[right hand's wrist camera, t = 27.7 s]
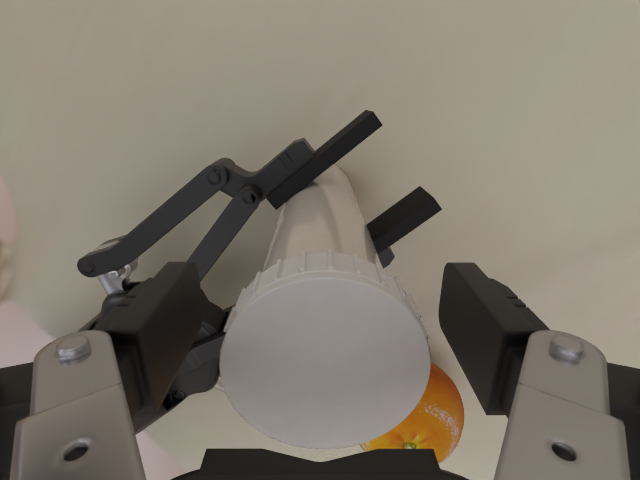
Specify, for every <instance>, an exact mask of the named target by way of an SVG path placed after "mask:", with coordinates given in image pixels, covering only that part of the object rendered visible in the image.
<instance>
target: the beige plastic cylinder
mask: <svg viewBox="0 0 640 480" xmlns="http://www.w3.org/2000/svg"><path fill="white" fill-rule="evenodd" d="M328 249H331V250H332V252H335V253H342V254H348V255H353V253H355V254H357V256H358V257H359V258H361V259H364V260H366V261H369V262H371V263H373V264H376V262H377V263H379V264H380V266H381V268H382V269H383V267H382V264H381V262H380V259H379V257H378V254H377V251H376V249H375V246H374V244H373V241H372V238H371V236H370V233H369V231H368V228H367V225H366V223H365V220H364V218H363V215H362V212H361V210H360V207H359V205H358V202H357V199H356V197H355V194H354V192H353V189H352V186H351V184H350V181H349V179H348V177H347V175H346V174H345V173H344V172H343V171H342V170H341V169H340V168H339V167H337V166H336V165H334V164H333V165H332V166H331V167H329V168H328V169H327V170H326V171H324V172H323V173H322V174H321V175H319V176H318V177H317V178H316V179H314V180H313V181H312V182H311V183H309V184H308V185H307V186H305V187H304V188H303V189H302V190H300V191H299V192H298V193H297V194H295V195H294V196H293V197H292V198H290V199H289V200H288V201H287V202H285V203H284V204H283V206H282V209H281V213H280V216H279V219H278V222H277V225H276V228H275V231H274V234H273V238H272V241H271V244H270V247H269V250H268V253H267V256H266V259H265V263H264V266H263V269H262V272H264V271H265V270H267V269H268V268H270V267H271V266H273V265H275V264H277V260H278V259H280V258H281V259H282V261H283V260H286V259H288V258H291V257H294V256H298V255H301V253H302V252H303V251H306V254H307V253H315V252H327V250H328ZM383 270H384V269H383Z"/></svg>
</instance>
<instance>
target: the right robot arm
mask: <svg viewBox="0 0 640 480" xmlns="http://www.w3.org/2000/svg"><path fill="white" fill-rule="evenodd" d="M202 321H203V304H202V296H201V288H200V281H199V273H198V268H197V265H196V263H194V262H168V263H167V264H166V265H165V266H164V267H163V268H162V269H161V270H160V272H159V273H158V274H157V275H156V276H155V277H154V278H149V279H147V280H145V281H144V282H142V283H140V284H138V285H136V286H134V288H133V289H132V290H131V291H130V292H129V293H128V294H127V295H126V296H125V298H123V299H122V300H121V301H120V302H119V303H118V304H117V307H114V308H113V309H112V310H111V311H110V312H109V313H108V314H107V315H106V316H105V317H104V318H103V319H102V320H101V321H100V322H99V323H98V324H97V325H96V326H95V327H94V328H93V329H92V330H87V331H80V332H76V333H72V334H69V335H66V336H63V337H61V338H58V339H56V340H54V341H53V342H51V343H49V344H48V345H46V346H45V347H43V348H42V349H41V350H40V351H39V352H38V353H37V355H36V356H35V358H34V361H33V362H32V363H26V364H21V365H16V366H11V367H6V368H0V480H146V476H145V472H144V468H143V464H142V460H141V456H140V452H139V448H138V444H137V440H136V436H135V432H134V428H133V424H132V422H133V420H134V419H135V417H136V415H137V414H157V412H158V410H159V408H160V406H161V404H162V402H163V400H164V398H165V396H166V394H167V392H168V390H169V389H170V387H171V385H172V383H173V381H174V379H175V377H176V375H177V373H178V371H179V369H180V367H181V365H182V363H183V361H184V360H185V358H186V356H187V354H188V352H189V350H190V348H191V346H192V344H193V342H194V340H195V338H196V336H197V334H198V332H199V330H200V328H201V326H202ZM439 322H440V326H441V329H442V331H443V333H444V335H445V337H446V339H447V341H448V343H449V345H450V346H451V348H452V350H453V352H454V354H455V356H456V358H457V360H458V362H459V364H460V366H461V367H462V369H463V371H464V373H465V375H466V377H467V379H468V381H469V383H470V385H471V387H472V388H473V390H474V392H475V394H476V396H477V398H478V400H479V402H480V404H481V406H482V407H483V409H484V411H485V413H486V415H506V416H507V418H508V424H507V428H506V432H505V436H504V440H503V444H502V448H501V452H500V456H499V460H498V464H497V468H496V472H495V476H494V480H640V369H637V368H632V367H627V366H622V365H617V364H611V363H607V361H606V358H605V356H604V354H603V353H602V352H601V351H600V350H599V349H598V348H597V347H595V346H594V345H592V344H591V343H589V342H587V341H586V340H584V339H582V338H579V337H577V336H574V335H571V334H568V333H564V332H560V331H553V330H550V329H549V328H548V327H547V326H546V325H545V324H544V323H543V322H542V321H541V320H540V319H539V318H538V317H537V316H536V315H535V314H534V313H533V312H532V311H531V310H530V309H529V308H528V307H526V305H525V304H524V303H523V302H522V301H521V300H520V299H518V297H517V296H516V295H515V294H514V293H513V292H512V291H511V290H510V289H509V288H508V287H507V286H505V285H503V284H501V283H500V282H498V281H496V280H494V279H489V278H488V277H487V276H486V275H485V274H484V273H483V272H482V271H481V270H480V269H479V267H478V266H477V265H476V264H475V263H447V264H446V266H445V268H444V274H443V281H442V289H441V296H440V304H439ZM171 480H469V479H467V478H465V477H462V476H460V475H457V474H454V473H451V472H449V471H445V470H442V469H440V468H439V464H438V461H437V458H436V455H435V452H434V449H375V450H371V451H367V452H363V453H358V454H354V455H350V456H346V457H342V458H338V459H334V460H330V461H326V462H314V461H310V460H306V459H302V458H298V457H294V456H290V455H286V454H282V453H277V452H273V451H269V450H265V449H206V452H205V455H204V458H203V461H202V464H201V468H200V469H198V470H195V471H191V472H189V473H186V474H183V475H180V476H178V477H175V478H173V479H171Z"/></svg>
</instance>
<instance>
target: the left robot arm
mask: <svg viewBox="0 0 640 480" xmlns="http://www.w3.org/2000/svg"><path fill="white" fill-rule="evenodd" d="M381 126H382V124H381V122H380V121H379V119H378V118H377V116H376V115H375V114H374V112H372V111H368V110H365V111H364V112H363V113H362V114H360V115H359V116H358V117H357V118H355V119H354V120H353V121H352V122H350V123H349V124H348V125H347V126H346V127H344V128H343V129H342V130H341V131H339V132H338V133H337V134H336V135H335V136H333V137H332V138H331V139H330V140H328V141H327V142H326V143H325V144H324V145H322V146H321V147H320V148H319V149H317V150H316V151H314V150H313V148H312V147H311V146H310V145H309V143H308V142H307V141H306V140H305V138H302V139H299V140H296V141H294V142H293V143H291V144H290V145H289V146H288V147H287V148H285V149H284V150H283V151H282V152H281V153H279V154H278V155H277V156H276V157H275V158H273V159H272V160H271V161H270V162H269V163H267V164H266V165H265V166H264V167H263V168H261V169H260V170H258V171H256V172H248V171H246V170H244V169H242V168H240V167H238V166H237V165H235V163H234V162H233V161H232V160H231V159H228V158H221V159H219V160H217V161H216V162H214V163H213V164H211V165H209V166H208V167H206V168H205V169H204V170H203V171H201V172H200V173H199V174H198V175H197V176H196V177H194V178H193V179H192V180H191V181H190V182H189V183H187V184H186V185H185V186H184V187H183V188H181V189H180V190H179V191H178V192H177V193H176V194H174V195H173V196H172V197H171V198H170V199H169V200H167V201H166V202H165V203H164V204H163V205H162V206H160V207H159V208H158V209H157V210H156V211H154V212H153V213H152V214H151V215H150V216H149V217H147V218H146V219H145V220H144V221H143V222H142V223H140V224H139V225H138V226H137V227H136V228H134V229H133V230H132V231H131V232H130V233H129V234H127V235H124V236H121V237H118V238H115V239H112V240H109V241H106V242H104V243H103V244H101V245H100V246H98V247H97V248H95V249H94V250H92V251H91V252H89V253H88V254H87V255H85V256H84V257H82V258H81V259H79V261H78V263H77V267H78V270H79V271H80V272H81V274H83V275H85V276H87V277H96V276H97V277H98V279H99V281H100V282H101V284H102V286H103V287H104V289H105V291H106V292H107V294H108V296H107V297H106V298H105V300H104V302H103V304H102V309H101V312H100V313H99V314H98V315H96V316H95V317H94V318H93V319H92V320H90V321H89V322H88V323H87V324H86V325H84V326H83V327H82V328H81V329H80V330H78V331H77V332H80V331H87V330H92V329H93V328H94V327H95V326H96V325H97V324H98V323H99V322H100V321H101V320H102V319H103V318H104V317H105V316H106V315H107V314H108V313H109V312H110V311H111V310H112V309H113V308H114V307H117V304H118V303H119V302H120V301H121V300H122V299H123V298H125V296H126V295H127V294H128V293H129V292H130V291H131V290H132V289H133V288H134V286H136V285H138V284H140V283H142V282H130V280H129V276H130V274H131V273H132V272H133V271H134V270H136V268H137V267H138V261H137V260H138V257H139V256H140V255H141V254H142V253H143V252H145V251H146V250H147V249H148V248H150V247H151V246H152V245H153V244H154V243H156V242H157V241H158V240H159V239H160V238H162V237H163V236H164V235H165V234H167V233H168V232H169V231H170V230H171V229H173V228H174V227H175V226H176V225H177V224H179V223H180V222H181V221H182V220H184V219H185V218H186V217H187V216H188V215H190V214H191V213H192V212H193V211H194V210H196V209H197V208H198V207H199V206H201V205H202V204H203V203H204V202H205V201H207V200H208V199H209V198H210V197H211V196H213V195H214V194H215V193H216V192H218V191H219V190H221V191H222V192H224V193H226V194H228V195H229V196H231V197H233V199H232V200H231V202H230V203H229V205H228V206H227V207H226V209H225V210H224V211H223V213H222V214H221V215H220V217H219V218H218V220H217V221H216V222H215V224H214V225H213V226H212V228H211V229H210V231H209V232H208V233H207V235H206V236H205V237H204V239H203V240H202V242H201V243H200V244H199V246H198V247H197V248H196V250H195V251H194V253H193V254H192V255H191V257H190V258H189V259H188V261H187V262H194V263H196V265H197V268H198V273H199V281H200V282H201V280H202V279H203V278H204V276H205V275H206V274H207V272H208V271H209V270H210V268H211V267H212V266H213V264H214V263H215V262H216V261H217V259H218V258H219V257H220V255H221V254H222V253H223V251H224V250H225V249H226V247H227V246H228V245H229V243H230V242H231V241H232V239H233V238H234V237H235V236H236V234H237V233H238V232H239V230H240V229H241V228H242V226H243V225H244V224H245V222H246V221H247V220H248V218H249V217H250V216H251V214H252V213H253V212H254V210H255V209H257V207H258V205H259V204H260V202H261V201H263V200H264V199H265V198H266V197H267V198H266V199H267V200H268V201H269V202H270V203H271V204H272V206H273V207H274V208H275V209H276V210H277V209H278V208H279V207H280V206H282V205H283V204H284V203H285V202H287V201H288V200H289V199H290V198H292V197H293V196H294V195H295V194H297V193H298V192H299V191H300V190H302V189H303V188H304V187H305V186H307V185H308V184H309V183H311V182H312V181H313V180H314V179H316V178H317V177H318V176H319V175H321V174H322V173H323V172H324V171H326V170H327V169H328V168H329V167H331V166H332V165H333V164H334V163H336V162H337V161H338V160H339V159H341V158H342V157H343V156H344V155H346V154H347V153H348V152H349V151H351V150H352V149H353V148H354V147H356V146H357V145H358V144H360V143H361V142H362V141H363V140H365V139H366V138H367V137H368V136H370V135H371V134H372V133H373V132H375V131H376V130H377V129H378V128H380V127H381ZM440 210H442V209H441V207H440V206H439V205H438V203H437V202H436V200H435V199H434V198H433V197H432V196H431V195H430V194H429V193H427V192H426V191H425V190H424V189H423V188H422V187H420V186H419V187H418V188H416V189H415V190H414V191H412V192H411V193H410V194H408V195H407V196H406V197H404V198H403V199H401V200H400V201H399V202H397V203H396V204H395V205H393V206H392V207H390V208H389V209H388V210H386V211H385V212H384V213H382V214H381V215H380V216H378V217H377V218H375V219H374V220H373V221H371V222H370V223H369V224H367V228H368V231H369V233H370V236H371V238H372V241H373V244H374V246H375V249H376V251H377V254H378V257H379V259H380V262H381V264H382V267H383V268H385V267H386V266H388V265H389V264H390V263H391V261H392V260H393V258H394V257H395V256H394V254H393V252H392V250H391V248H390V246H391V245H392V244H394V243H395V242H396V241H398V240H399V239H401V238H402V237H404V236H405V235H406V234H408V233H409V232H411V231H412V230H413V229H415V228H416V227H418V226H419V225H421V224H422V223H423V222H425V221H426V220H428V219H429V218H431V217H432V216H433V215H435V214H436V213H438V212H439V211H440ZM143 282H144V281H143ZM201 296H202V304H203V321H202V326H201V328H200V330H199V332H198V334H197V336H196V338H195V340H194V342H193V344H192V346H191V348H190V350H189V352H188V354H187V356H186V358H185V360H184V361H183V363H182V365H181V367H180V369H179V371H178V373H177V375H176V377H175V379H174V381H173V383H172V385H171V387H170V389H169V390H168V392H167V394H166V396H165V398H164V400H163V402H162V404H161V406H160V408H159V410H158V412H157V414H137V415H136V417H135V419H134V420H133V422H132V424H133V428H134V432H135V435H136V434H138V433H139V432H141V431H142V430H143V429H145V428H146V427H148V426H149V425H151V424H152V423H153V422H155V421H156V420H158V419H159V418H161V417H162V416H164V415H165V414H166V413H168V412H169V411H171V410H172V409H173V408H175V407H176V406H177V405H178V404H179V403H180V402H182V401H183V400H184V399H185V398H186V397H188V396H189V395H192V394H195V393H201V392H206V391H208V390H210V389H212V388H213V387H214V388H216V389H219V390H221V391H223V392H225V390H224V388H223V384H222V381H221V377H220V368H219V360H220V349H221V346H222V343H223V340H224V337H225V335H226V332H224V328H225V325H226V323H227V320H228V318H229V315H230V313H231V310H232V308H233V307H235V305H233V306H231V307H229V308H226V309H224V310H222V309H221V308H220V307H218V306H217V305H215V304H213V303H212V302H210V301H209V300H208V299H207V297H206V295H205V294H204V292H203V291H202V290H201Z"/></svg>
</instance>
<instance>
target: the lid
mask: <svg viewBox="0 0 640 480" xmlns="http://www.w3.org/2000/svg"><path fill="white" fill-rule="evenodd" d="M420 318H421V316H420V314H419V312H418V310H417V308H416V306H415V303H414V301H413V299H412V297H411V295H410V294H408V295H407V294H406V293H405V291H404V290H403V288H402V286H401V284H400V281H399V279H398V278H397V277H394V278H393V277H392V276H391V275H389V274H388V273H387V272H386V271H384V270H383V269H382V268H381V266H380V264H379V263H377V262H376V264H373V263H371V262H369V261H366V260H364V259H361V258H359V257H358V256H357V254H355V253H353V255H348V254H342V253H335V252H332V250H331V249H328V250H327V252H315V253H307V254H306V251H303V252H302V253H301V255H298V256H294V257H291V258H288V259H286V260H283V261H282V259H281V258H280V259H278V260H277V264H275V265H273V266H271V267H270V268H268V269H267V270H265V271H264V272H261V271H259V272H258V273H257V275H256V278H255V279H254V280H253V281H252V282H251V284H250V285H249V286H248V287H247V288H246V289H245V288H243V289H242V290H241V293H240V295H239V298H238V300H237V303H236V305H235V307H233V308H232V310H231V313H230V315H229V318H228V320H227V323H226V325H225V328H224V332H226V335H225V337H224V340H223V343H222V346H221V349H220V360H219V368H220V377H221V381H222V384H223V388H224V390H225V393H226V395H227V397H228V399H229V401H230V402H231V404H232V405H233V407H234V408H235V410H236V411H237V412H238V413H239V414H240V416H241V417H242V418H244V419H245V420H246V421H247V422H248V423H249V424H250V425H252V426H253V427H254V428H256V429H257V430H258V431H260V432H262V433H264V434H265V435H267V436H269V437H271V438H273V439H276V440H278V441H280V442H284V443H287V444H290V445H294V446H299V447H304V448H312V449H335V448H344V447H349V446H354V445H358V444H361V443H365V442H367V441H370V440H372V439H375V438H377V437H379V436H381V435H383V434H385V433H387V432H388V431H390V430H391V429H393V428H394V427H396V426H397V425H398V424H400V423H401V422H402V421H403V420H404V419H405V418H406V417H407V416H408V415H409V414H410V413H411V412H412V411H413V410H414V408H415V407H416V405H417V404H418V402H419V401H420V399H421V397H422V395H423V393H424V391H425V389H426V386H427V383H428V380H429V375H430V368H431V355H430V349H429V344H428V341H427V339H428V335H427V333H426V331H425V329H424V326H423V324H422V322H421V320H420Z"/></svg>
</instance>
